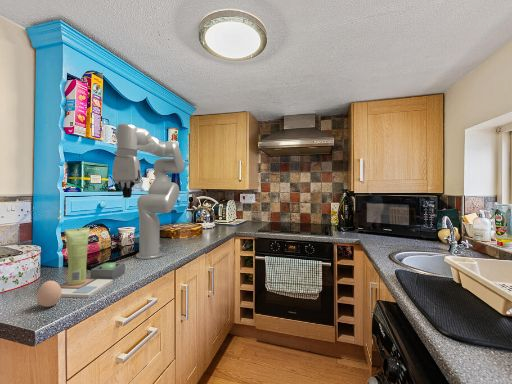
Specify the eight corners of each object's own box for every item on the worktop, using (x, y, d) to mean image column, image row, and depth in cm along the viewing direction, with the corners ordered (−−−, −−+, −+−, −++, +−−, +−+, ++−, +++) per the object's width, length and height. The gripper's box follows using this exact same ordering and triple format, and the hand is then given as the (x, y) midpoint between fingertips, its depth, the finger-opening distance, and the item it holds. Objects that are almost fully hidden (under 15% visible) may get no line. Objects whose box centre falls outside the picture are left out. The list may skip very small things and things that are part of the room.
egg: (32, 308, 73) (32, 282, 73) (54, 300, 79) (54, 276, 78) (43, 312, 71) (43, 286, 71) (65, 303, 76) (65, 279, 76)
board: (75, 281, 94) (75, 277, 94) (113, 282, 93) (113, 279, 93) (45, 296, 81) (45, 292, 81) (88, 297, 80) (88, 294, 80)
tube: (75, 279, 92) (75, 227, 92) (90, 279, 93) (89, 227, 92) (65, 285, 87) (64, 229, 86) (80, 285, 87) (80, 229, 86)
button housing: (104, 272, 103) (104, 262, 103) (124, 272, 103) (124, 263, 103) (90, 280, 95) (90, 269, 95) (112, 280, 95) (112, 270, 95)
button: (106, 272, 101) (106, 262, 101) (118, 272, 101) (118, 262, 101) (98, 276, 97) (98, 266, 97) (110, 276, 97) (110, 266, 96)
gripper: (104, 152, 102) (104, 197, 103) (140, 153, 102) (140, 198, 102) (115, 155, 109) (115, 196, 110) (148, 155, 109) (148, 197, 110)
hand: (127, 197), depth 106 cm, fingers closed
